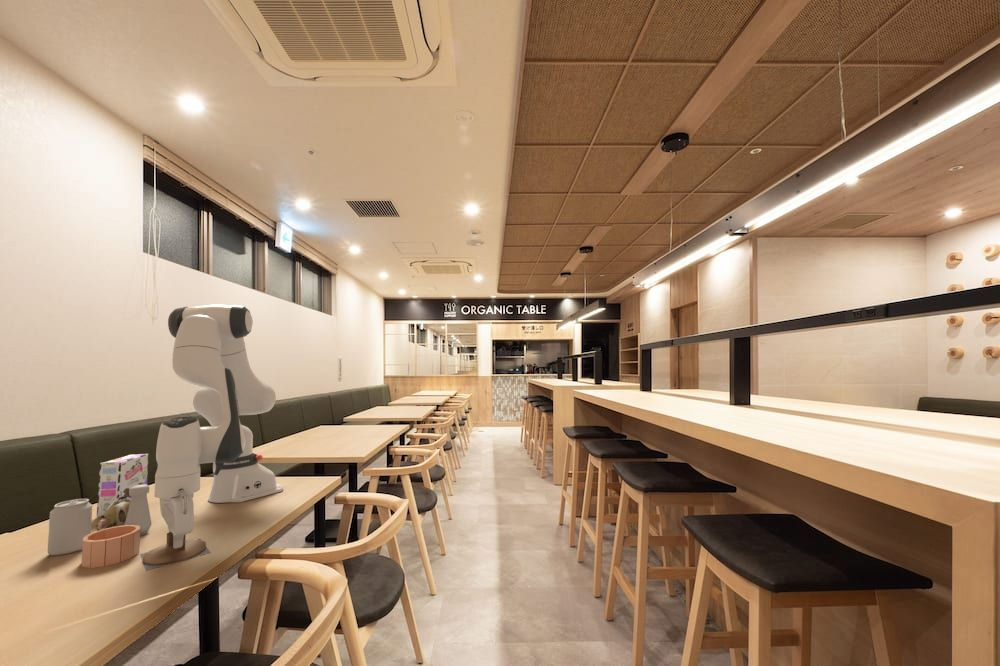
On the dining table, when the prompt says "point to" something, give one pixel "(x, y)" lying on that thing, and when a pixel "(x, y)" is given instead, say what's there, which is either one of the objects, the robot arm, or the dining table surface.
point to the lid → (173, 551)
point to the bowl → (110, 546)
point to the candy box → (120, 479)
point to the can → (69, 526)
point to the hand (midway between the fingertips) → (175, 544)
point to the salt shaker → (139, 508)
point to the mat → (149, 567)
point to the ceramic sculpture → (115, 513)
